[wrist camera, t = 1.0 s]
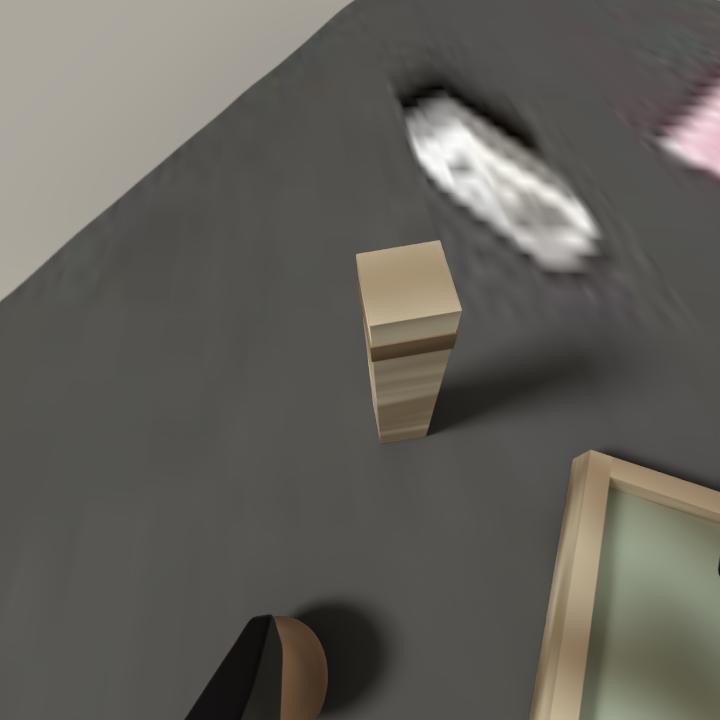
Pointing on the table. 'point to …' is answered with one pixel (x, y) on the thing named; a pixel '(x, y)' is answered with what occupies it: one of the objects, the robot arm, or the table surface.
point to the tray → (632, 599)
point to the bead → (301, 670)
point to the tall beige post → (407, 333)
